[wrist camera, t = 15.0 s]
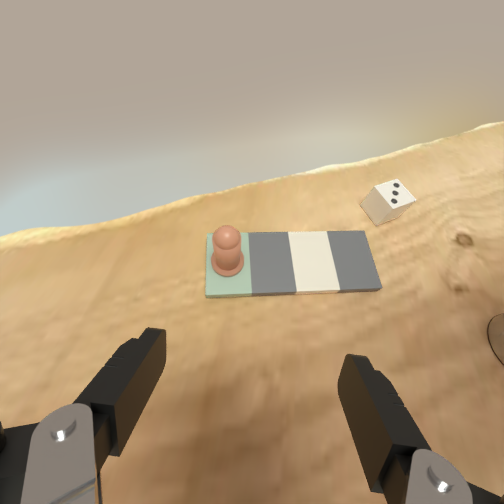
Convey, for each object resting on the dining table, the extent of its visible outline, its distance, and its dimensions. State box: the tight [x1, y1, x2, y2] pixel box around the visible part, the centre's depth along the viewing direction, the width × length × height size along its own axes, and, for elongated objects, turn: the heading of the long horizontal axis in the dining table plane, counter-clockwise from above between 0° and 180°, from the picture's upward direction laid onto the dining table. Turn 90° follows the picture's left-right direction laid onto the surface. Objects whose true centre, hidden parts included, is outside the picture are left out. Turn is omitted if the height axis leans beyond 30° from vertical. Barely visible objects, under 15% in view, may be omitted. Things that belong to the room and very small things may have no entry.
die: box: [360, 179, 416, 226], centre depth 41 cm, size 5×5×5 cm
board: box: [205, 231, 382, 298], centre depth 37 cm, size 26×10×2 cm, turn 94°
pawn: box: [211, 225, 244, 277], centre depth 31 cm, size 5×5×9 cm
